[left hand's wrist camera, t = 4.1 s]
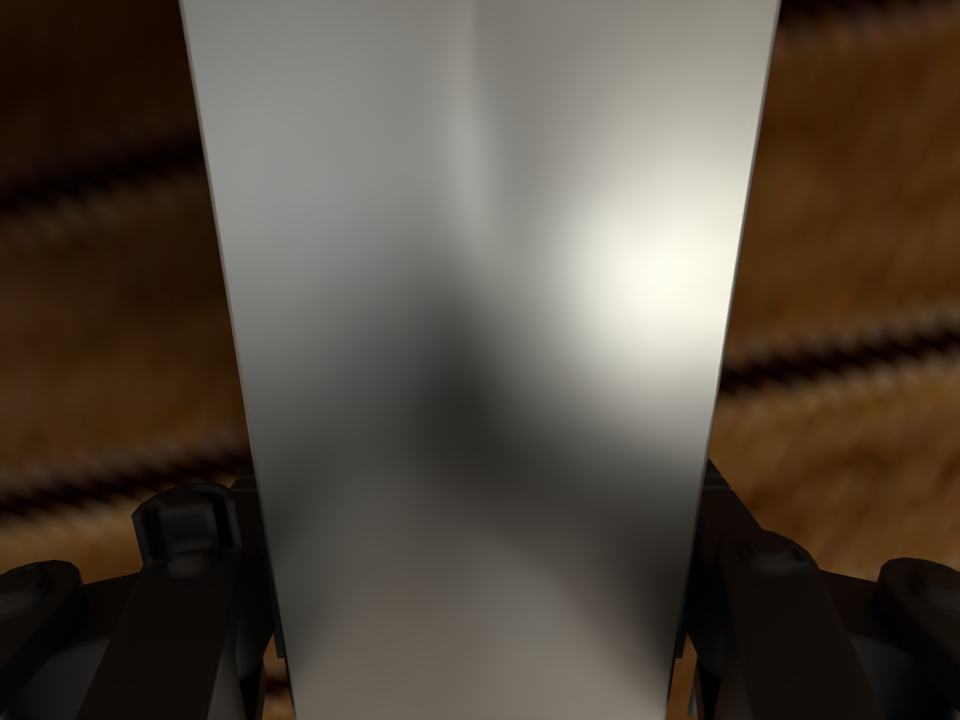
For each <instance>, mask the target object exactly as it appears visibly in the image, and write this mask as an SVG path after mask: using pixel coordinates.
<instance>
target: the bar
mask: <svg viewBox="0 0 960 720" xmlns="http://www.w3.org/2000/svg"><path fill="white" fill-rule="evenodd" d="M781 1H782V0H179V7H180V13H181V19H182V25H183V31H184V38H185V44H186V50H187V56H188V63H189V69H190V75H191V81H192V87H193V94H194V100H195V106H196V112H197V118H198V125H199V131H200V137H201V143H202V149H203V156H204V162H205V168H206V174H207V180H208V187H209V193H210V199H211V205H212V211H213V218H214V224H215V230H216V236H217V242H218V249H219V255H220V261H221V267H222V273H223V280H224V286H225V292H226V298H227V304H228V311H229V317H230V323H231V329H232V335H233V342H234V348H235V354H236V360H237V367H238V373H239V379H240V385H241V391H242V398H243V404H244V410H245V416H246V422H247V429H248V435H249V441H250V447H251V453H252V460H253V466H254V472H255V478H256V484H257V491H258V497H259V503H260V509H261V515H262V522H263V528H264V534H265V540H266V546H267V553H268V559H269V565H270V571H271V577H272V584H273V590H274V596H275V602H276V608H277V615H278V621H279V627H280V633H281V640H282V646H283V652H284V658H285V664H286V671H287V677H288V683H289V689H290V695H291V702H292V708H293V714H294V720H666V714H667V707H668V701H669V695H670V689H671V683H672V676H673V670H674V664H675V658H676V652H677V645H678V639H679V633H680V627H681V621H682V614H683V608H684V602H685V596H686V590H687V583H688V577H689V571H690V565H691V559H692V552H693V546H694V540H695V534H696V528H697V521H698V515H699V509H700V503H701V497H702V490H703V484H704V478H705V472H706V466H707V459H708V453H709V447H710V441H711V435H712V429H713V422H714V416H715V410H716V404H717V398H718V391H719V385H720V379H721V373H722V367H723V360H724V354H725V348H726V342H727V336H728V329H729V323H730V317H731V311H732V305H733V298H734V292H735V286H736V280H737V274H738V267H739V261H740V255H741V249H742V243H743V236H744V230H745V224H746V218H747V212H748V205H749V199H750V193H751V187H752V181H753V174H754V168H755V162H756V156H757V150H758V143H759V137H760V131H761V125H762V119H763V113H764V106H765V100H766V94H767V88H768V82H769V75H770V69H771V63H772V57H773V51H774V44H775V38H776V32H777V26H778V20H779V13H780V7H781Z"/></svg>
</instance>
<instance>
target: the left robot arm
mask: <svg viewBox="0 0 960 720" xmlns="http://www.w3.org/2000/svg"><path fill="white" fill-rule="evenodd" d="M131 517H132V521H133V524H134V528H135V532H136V536H137V540H138V544H139V548H140V552H141V556H142V559H143V563H144V565H143V567H142V569H141V571H140V572H138V573H134V574H130V575H127V576H122V577H117V578H113V579H108V580H103V581H99V582H94V583H89V584H84V585H83V581H82V578H81V575H80V572H79V569H78V568H77V567H76V566H74V565H73V564H72V563H71V562H66V561H59V560H50V561H42V562H35V563H31V564H27V565H24V566H20V567H17V568H14V569H11V570H9V571H8V572H6V573H4V574H2V575H0V720H262V715H263V706H264V697H265V689H266V674H265V667H264V662H263V655H264V652H265V650H266V648H267V645H268V643H269V641H270V638H271V636H272V634H274V640H275V646H276V652H277V658H284V652H283V646H282V640H281V633H280V627H279V621H278V615H277V608H276V602H275V596H274V590H273V584H272V577H271V571H270V565H269V559H268V553H267V546H266V540H265V534H264V528H263V522H262V515H261V509H260V503H259V497H258V491H257V484H256V478H255V472H254V466H253V460H251V461H250V462H249V463H248V465H247V466H246V467H245V469H244V470H243V471H242V473H241V474H240V475H239V479H236V481H235V482H234V484H233V485H232V486H231V488H230V489H229V488H227V487H226V486H225V485H221V484H216V483H212V482H208V483H191V484H187V485H182V486H177V487H174V488H171V489H169V490H166V491H164V492H161V493H159V494H156V495H155V496H153V497H151V498H150V499H148V500H147V501H145V502H144V503H142V504H141V505H140V506H139V507H138V508H137V509H136V510H135V512H134V513H133V514H132V515H131ZM686 632H688V634H689V637H690V639H691V641H692V644H693V646H694V648H695V650H696V653H697V655H698V656H697V662H696V667H695V673H694V678H693V684H692V690H691V695H690V701H689V707H688V714H687V716H689V717H693V718H695V714H696V709H697V714H698V720H960V572H958V571H956V570H954V569H952V568H950V567H948V566H945V565H942V564H940V563H939V564H937V563H936V562H932V561H928V560H922V559H914V558H906V557H905V558H898V559H891V560H889V561H888V562H886V563H885V564H884V565H883V566H882V567H881V570H880V573H879V576H878V580H877V582H873V581H868V580H864V579H859V578H854V577H849V576H845V575H840V574H835V573H831V572H827V571H824V570H820V569H819V568H818V566H817V564H816V562H815V561H814V559H813V558H812V557H811V555H810V554H809V553H808V551H806V550H805V549H804V548H802V547H801V546H800V545H798V544H797V543H796V542H794V541H793V540H791V539H788V538H786V537H784V536H782V535H780V534H777V533H775V532H771V531H767V530H763V529H762V528H761V527H760V526H759V524H758V523H757V522H756V520H755V519H754V518H753V516H752V515H751V514H750V512H749V511H748V510H747V508H746V507H745V506H744V504H743V503H742V502H741V500H740V499H739V498H738V496H737V495H736V494H735V492H734V491H733V490H731V489H730V486H729V484H728V483H727V482H726V480H725V479H724V478H723V477H721V474H720V472H719V471H718V470H717V468H716V467H715V466H714V464H713V463H712V462H711V460H710V459H709V458H708V459H707V466H706V472H705V478H704V484H703V490H702V497H701V503H700V509H699V515H698V521H697V528H696V534H695V540H694V546H693V552H692V559H691V565H690V571H689V577H688V583H687V590H686V596H685V602H684V608H683V614H682V621H681V627H680V633H679V639H678V645H677V652H676V658H682V656H683V650H684V644H685V638H686Z"/></svg>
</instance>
